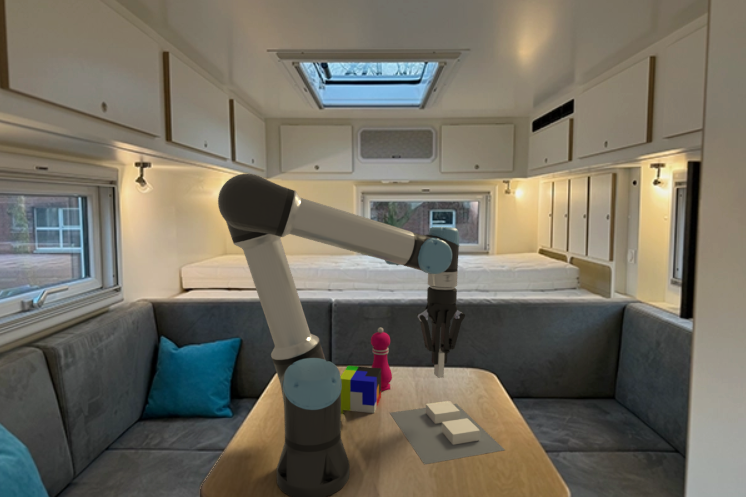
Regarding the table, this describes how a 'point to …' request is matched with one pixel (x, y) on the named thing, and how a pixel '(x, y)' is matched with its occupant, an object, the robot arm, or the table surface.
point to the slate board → (440, 437)
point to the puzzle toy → (360, 389)
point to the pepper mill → (381, 357)
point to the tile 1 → (442, 412)
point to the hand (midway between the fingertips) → (438, 375)
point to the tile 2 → (460, 431)
